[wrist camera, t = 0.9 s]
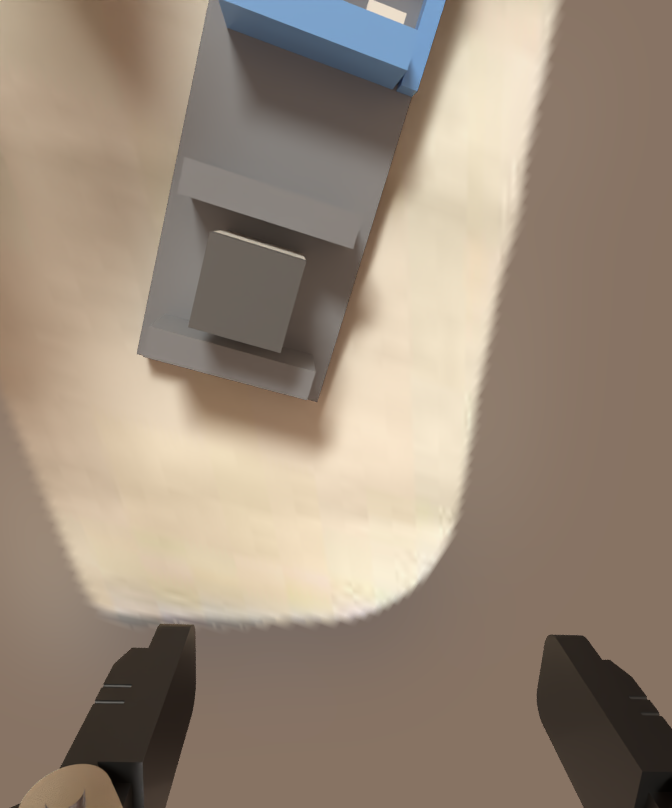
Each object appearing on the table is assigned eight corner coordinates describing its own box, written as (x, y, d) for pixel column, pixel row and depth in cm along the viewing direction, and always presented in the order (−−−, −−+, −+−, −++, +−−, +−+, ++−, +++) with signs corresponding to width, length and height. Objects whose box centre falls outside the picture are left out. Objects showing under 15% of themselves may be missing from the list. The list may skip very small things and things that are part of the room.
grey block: (207, 306, 29) (187, 327, 23) (226, 229, 28) (210, 231, 22) (282, 327, 29) (280, 353, 24) (302, 253, 28) (306, 261, 23)
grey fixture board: (143, 347, 31) (117, 370, 26) (263, -230, 23) (257, -345, 19) (315, 394, 32) (320, 423, 27) (477, -131, 25) (521, -214, 20)
